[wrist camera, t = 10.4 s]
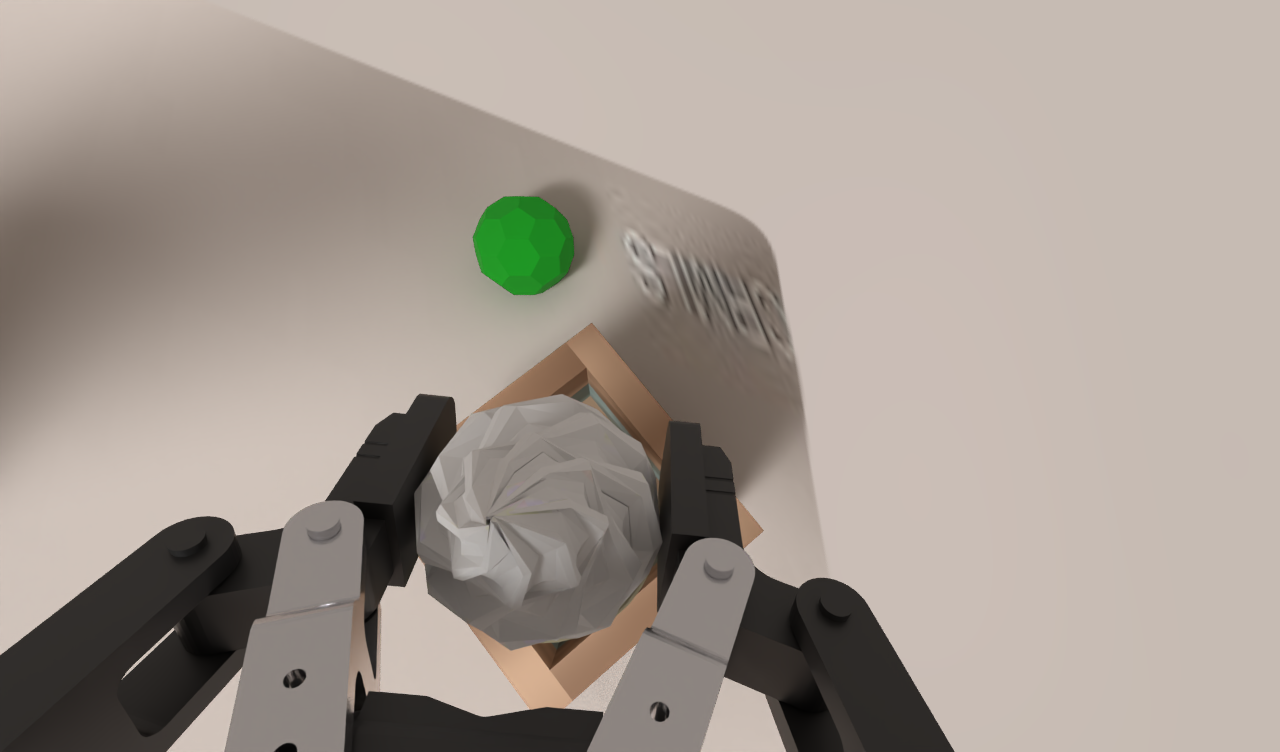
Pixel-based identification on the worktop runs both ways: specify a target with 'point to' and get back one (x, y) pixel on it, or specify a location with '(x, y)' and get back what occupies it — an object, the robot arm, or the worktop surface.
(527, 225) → the polyhedron
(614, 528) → the ice cream cone
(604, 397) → the square wooden crate
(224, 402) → the worktop surface
